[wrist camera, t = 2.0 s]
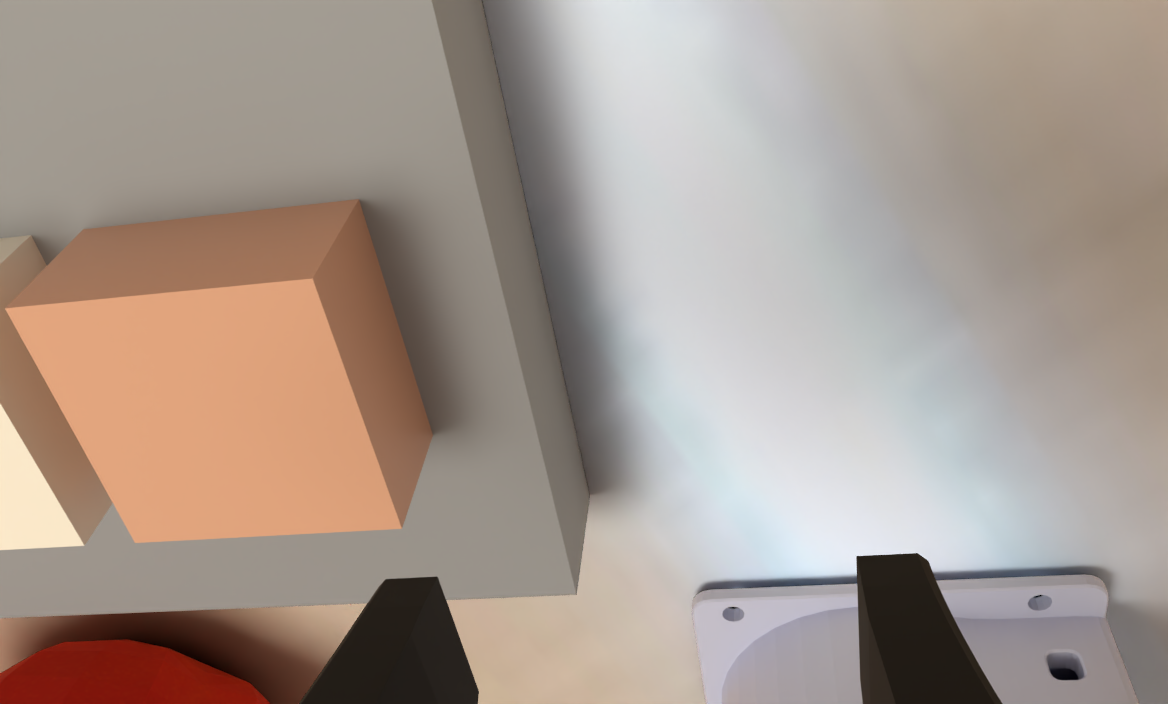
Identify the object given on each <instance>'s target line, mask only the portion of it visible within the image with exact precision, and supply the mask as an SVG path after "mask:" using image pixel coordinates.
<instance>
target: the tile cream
mask: <svg viewBox="0 0 1168 704" xmlns="http://www.w3.org/2000/svg"><path fill="white" fill-rule="evenodd" d="M46 266H47V265H46V263H45V261H44V259H43V257H42V256H41V254H40V252H39V250H38V248H37V246H36V244H35V242H34V240H33V238H32V236H31V235H28V236H18V237H9V238H0V550H14V549H32V548H51V547H70V546H85V544H86V543H87V541H88V540H89V538H90V537H91V535H92V534H93V532H94V531H95V529H96V528H97V526H98V525H99V523H100V522H101V520H102V519H103V517H104V515H105V514H106V512H107V511H108V509H109V508H110V506H111V505H112V503H113V502H112V501H111V499H110V497H109V495H108V493H107V492H106V490H105V488H104V486H103V484H102V483H101V481H100V479H99V477H98V475H97V474H96V472H95V470H94V468H93V466H92V465H91V463H90V461H89V459H88V457H87V455H86V454H85V452H84V450H83V448H82V446H81V445H80V443H79V441H78V439H77V437H76V436H75V434H74V432H73V430H72V428H71V427H70V425H69V423H68V421H67V419H66V418H65V416H64V414H63V412H62V410H61V409H60V407H59V405H58V403H57V401H56V400H55V398H54V396H53V394H52V392H51V391H50V389H49V387H48V385H47V383H46V382H45V380H44V378H43V376H42V374H41V373H40V371H39V369H38V367H37V365H36V364H35V362H34V360H33V358H32V356H31V355H30V353H29V351H28V349H27V347H26V346H25V344H24V342H23V340H22V338H21V337H20V335H19V333H18V331H17V329H16V328H15V326H14V324H13V322H12V320H11V318H10V317H9V315H8V313H7V311H6V309H5V308H6V307H7V306H8V305H9V304H10V303H11V302H12V301H13V300H14V299H15V298H16V297H17V296H18V295H19V294H20V293H21V292H22V291H23V290H24V289H25V288H26V287H27V286H28V285H29V284H30V283H31V281H32V280H33V279H34V278H35V277H36V276H37V275H38V274H39V273H40V272H41V271H42V270H43V269H44V268H45V267H46Z"/></svg>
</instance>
